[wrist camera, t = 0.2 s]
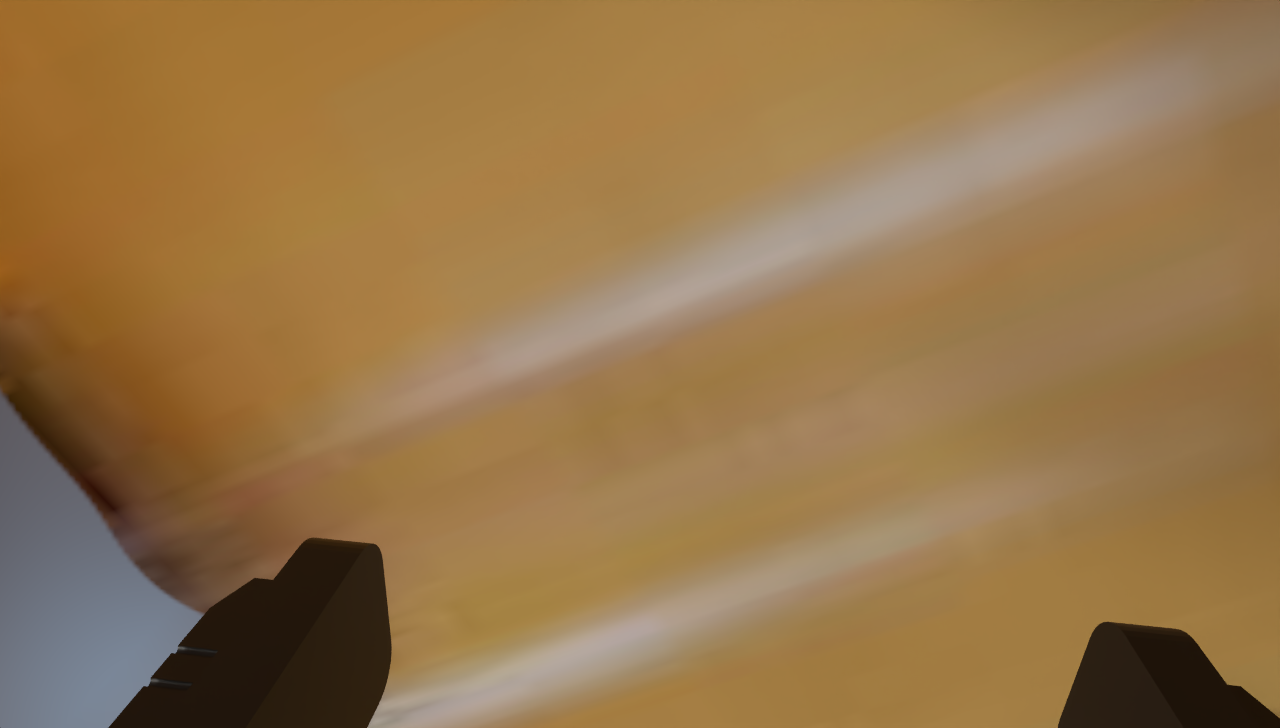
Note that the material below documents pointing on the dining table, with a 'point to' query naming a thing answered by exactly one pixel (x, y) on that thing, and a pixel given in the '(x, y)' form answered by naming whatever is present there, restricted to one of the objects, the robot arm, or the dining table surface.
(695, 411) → the dining table surface
